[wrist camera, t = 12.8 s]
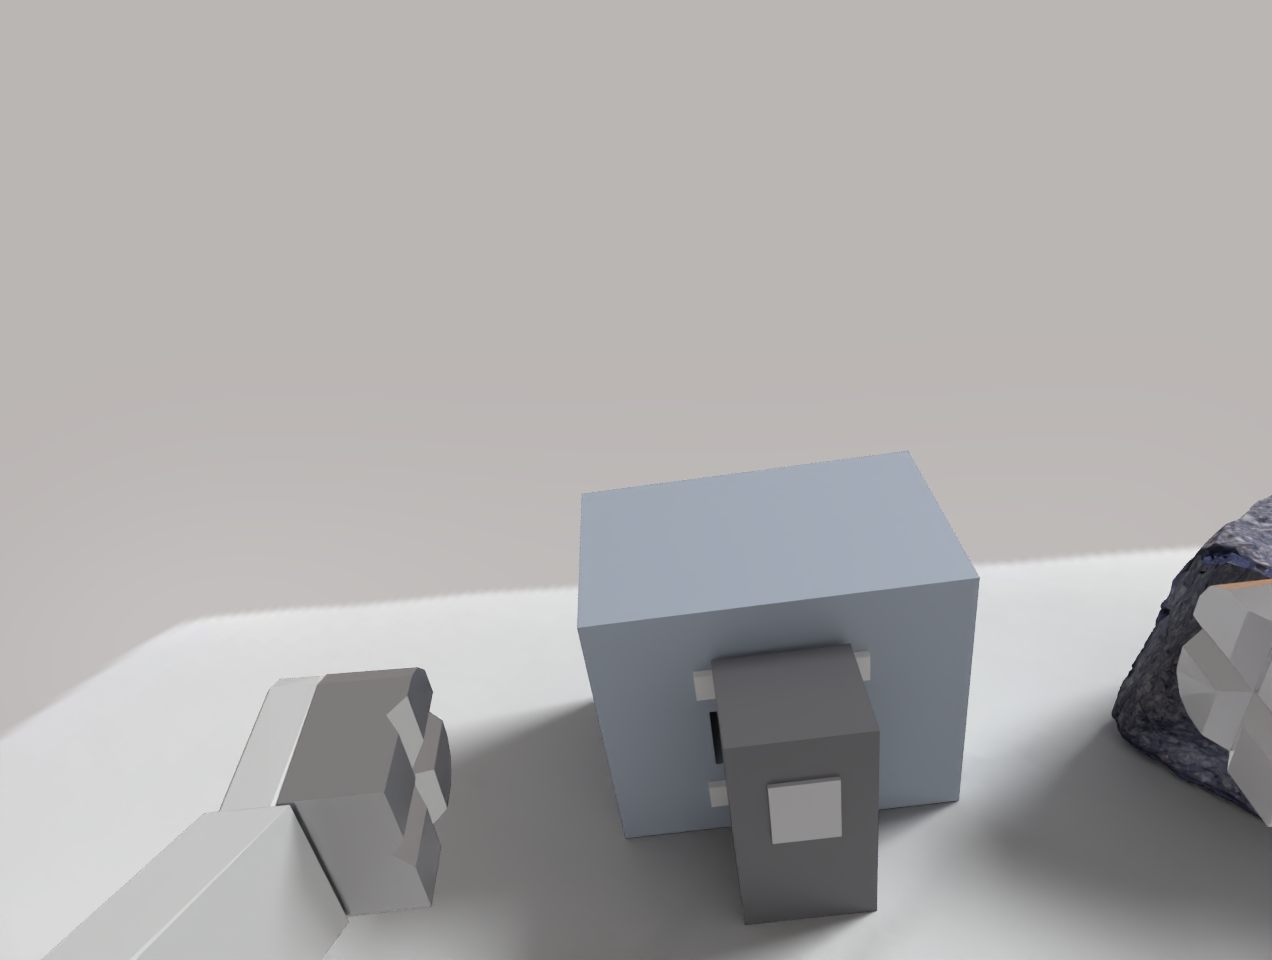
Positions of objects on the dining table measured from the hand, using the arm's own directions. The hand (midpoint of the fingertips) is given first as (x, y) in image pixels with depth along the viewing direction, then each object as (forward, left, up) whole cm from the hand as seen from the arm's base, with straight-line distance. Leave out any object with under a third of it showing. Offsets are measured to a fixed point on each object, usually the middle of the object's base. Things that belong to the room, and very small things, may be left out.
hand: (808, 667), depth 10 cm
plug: (+2, +16, -26) cm, 31 cm away
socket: (+2, +21, -26) cm, 34 cm away
